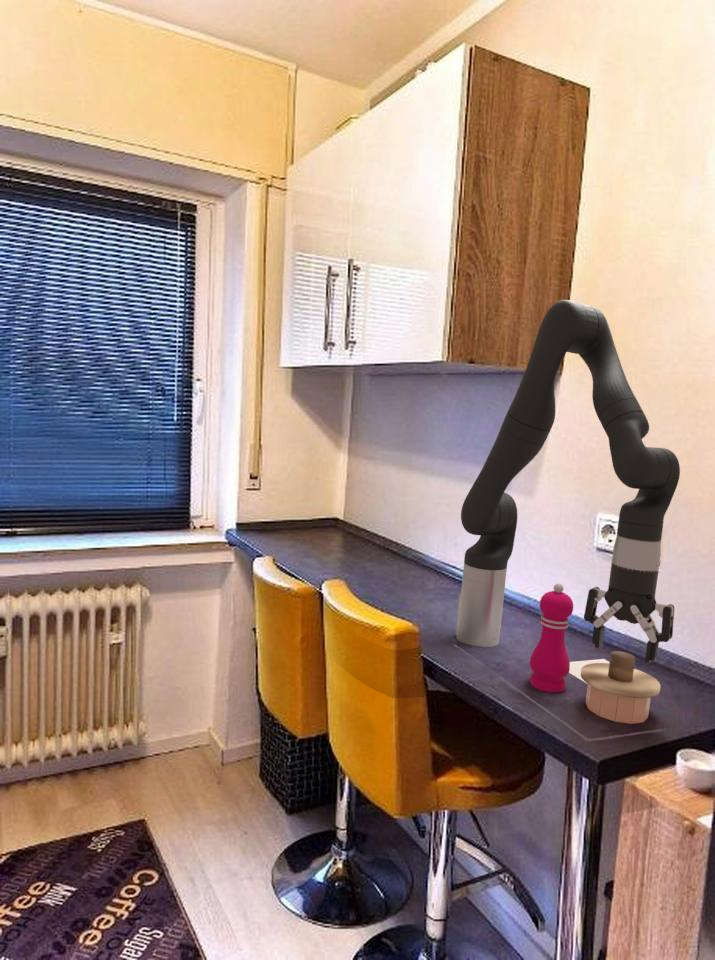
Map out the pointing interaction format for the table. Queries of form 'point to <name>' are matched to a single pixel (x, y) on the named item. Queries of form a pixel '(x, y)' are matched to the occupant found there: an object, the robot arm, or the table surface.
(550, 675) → the pepper mill
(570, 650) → the table surface
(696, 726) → the table surface
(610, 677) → the lid
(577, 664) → the mat
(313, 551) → the table surface
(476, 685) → the table surface
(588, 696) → the bowl
